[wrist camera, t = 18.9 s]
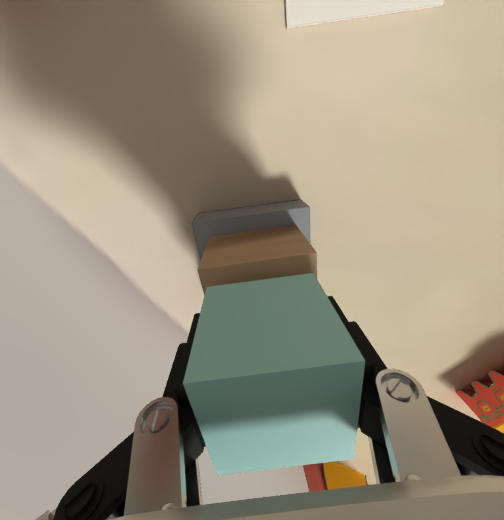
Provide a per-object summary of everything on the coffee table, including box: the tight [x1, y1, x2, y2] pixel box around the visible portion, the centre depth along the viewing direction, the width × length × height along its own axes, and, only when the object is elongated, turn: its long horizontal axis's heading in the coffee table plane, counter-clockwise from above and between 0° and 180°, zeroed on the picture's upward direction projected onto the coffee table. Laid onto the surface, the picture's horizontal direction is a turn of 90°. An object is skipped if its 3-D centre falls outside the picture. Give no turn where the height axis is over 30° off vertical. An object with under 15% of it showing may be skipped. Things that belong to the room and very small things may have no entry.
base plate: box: [192, 200, 310, 259], centre depth 19 cm, size 8×8×2 cm
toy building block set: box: [303, 370, 504, 492], centre depth 25 cm, size 12×35×14 cm, turn 141°
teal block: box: [183, 273, 365, 475], centre depth 10 cm, size 5×5×5 cm
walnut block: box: [198, 224, 317, 295], centre depth 15 cm, size 6×6×5 cm
